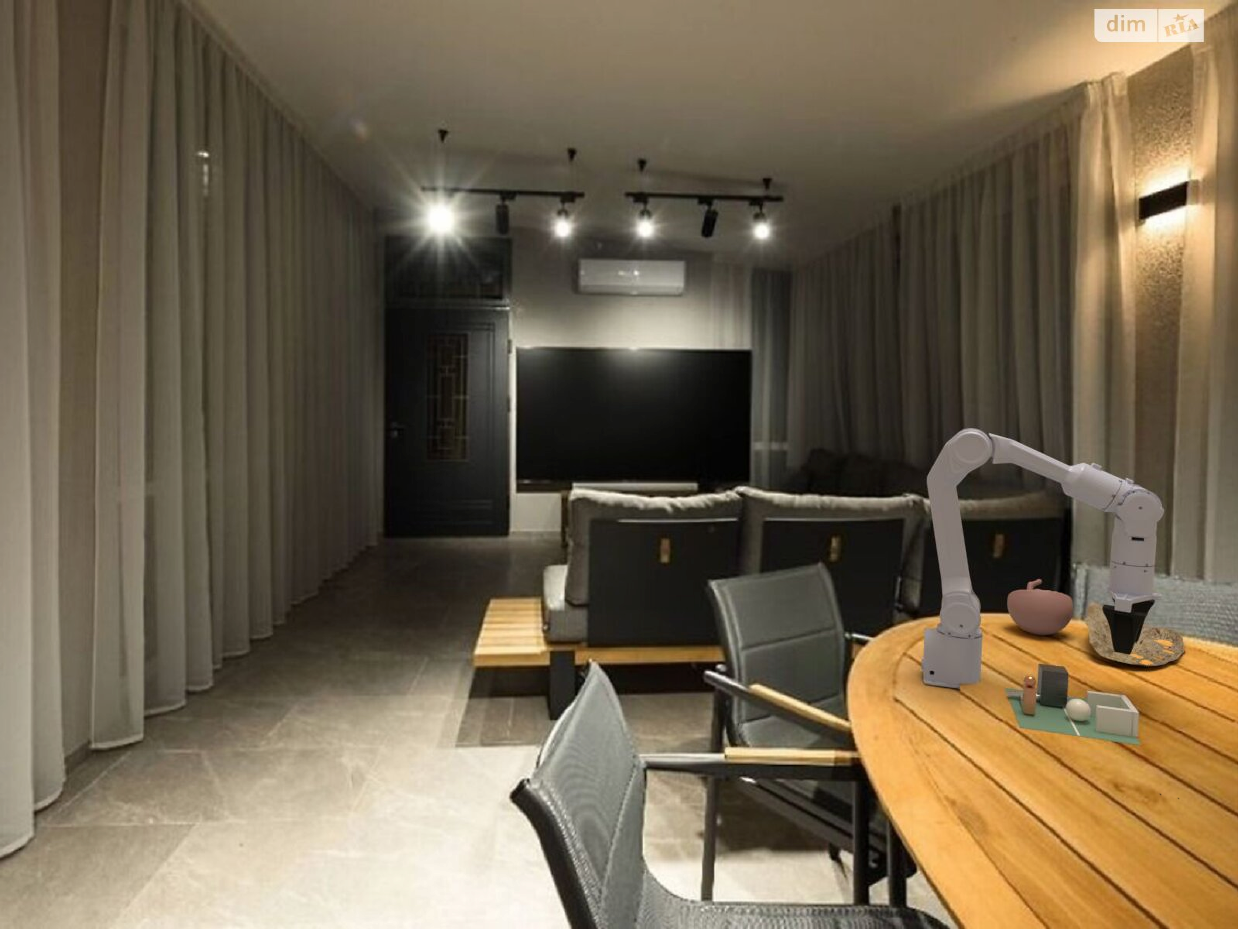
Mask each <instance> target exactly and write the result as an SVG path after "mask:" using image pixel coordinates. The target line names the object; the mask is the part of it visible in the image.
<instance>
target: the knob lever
mask: <svg viewBox="0 0 1238 929" xmlns="http://www.w3.org/2000/svg"><path fill="white" fill-rule="evenodd" d="M1037 666H1038V667H1037V679H1036V678H1035V677H1034V676H1033V675H1026V676H1025V677H1024V679H1023V683H1022V690H1023V692H1018V691H1010V690H1007V693H1006V696H1007V698H1008V697H1015V698H1019V700H1020V702H1021V705H1022V710H1023V712H1024V713H1025V714H1032V715H1035V709H1036V700H1037V701H1039V703H1040V704H1042V705H1049V706H1056V707H1064V708H1066V704H1067V703H1068V702H1069V701H1070V698H1067V696H1068V692H1069V690H1068V689H1069V676H1070V674H1069V671H1068V670H1067V669H1066V667H1065V666H1060V665H1054V664H1045V663H1044V664H1043V663H1038V665H1037ZM1036 692H1037V694H1036Z"/></svg>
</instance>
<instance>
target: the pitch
mask: <svg viewBox="0 0 1238 929" xmlns="http://www.w3.org/2000/svg"><path fill="white" fill-rule="evenodd" d="M1004 689H1005V693H1006V694H1007V690H1010V691H1018V692H1023V689H1016V688H1015V689H1014V688H1009V687H1005V688H1004ZM1036 694H1037V691H1036ZM1007 698H1008V701H1009V702H1010V705H1011V709H1012V710H1013V715H1014V716H1015V719H1016V722H1017V725H1018V728H1020V729H1026V730H1033V731H1039V732H1047V733H1055V734H1060V735H1066V736H1073V737H1074V736H1075V737H1080V738H1088V739H1094V740H1101V741H1106V742H1107V741H1108V742H1114V743H1115V742H1116V743H1119V744H1127V745H1128V744H1129V745H1136V746H1142V743H1141V742H1140V740H1138V737H1132V736H1125V735H1118V734H1111V733H1104V732H1097V731H1096V730H1095V721H1096V717H1094V716H1090V717H1089V718H1088V719H1087V720H1085V721H1076V720H1073V719H1072V718H1070V717H1069V716H1068V714H1067V712H1066V708H1064V707H1056V706H1049V705H1042V704H1040V703H1039V701H1037V700H1036V709H1035V715H1032V714H1025V713H1024V712H1023V710H1022V705H1021V702H1020V700H1019V698H1015V697H1007ZM1067 698H1070V700H1072V699H1081V700H1083V701H1085V702H1086V698H1085V697H1079V696H1071V695H1067Z"/></svg>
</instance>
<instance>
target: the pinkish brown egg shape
mask: <svg viewBox="0 0 1238 929" xmlns="http://www.w3.org/2000/svg"><path fill="white" fill-rule="evenodd" d="M1042 582H1043V581H1042V579H1040V578H1038V579H1036V580H1034V581H1029V582H1028V583H1027V586H1026V589H1017V590H1013V591H1012V592H1010V593H1008V596H1007V601H1006V602H1007V603H1006V604H1007V610H1008V614H1009V615H1010V617H1011V619H1012V621H1013V622H1014V623H1015V624H1016V625H1017V626H1018V627H1019V628H1021V630H1023V631H1025V632H1028V633H1030V634H1032V635H1033V634H1034V635H1037V636H1038V635H1039V636H1049V635H1053V634H1057V633H1059V632H1061V631H1062V630H1064V629H1065V628H1066V627H1067V626H1068V625H1069V623H1070V622H1071V620H1072V618H1073V614H1074V604H1073V599H1072V598H1071V596H1069V595H1068V594H1066V593H1065V594H1064V593H1063V592H1058V591H1052V590H1048V589H1047V590H1045V589H1040V588H1035V587H1036V586H1039V585H1041V584H1043V583H1042Z"/></svg>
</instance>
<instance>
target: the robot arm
mask: <svg viewBox="0 0 1238 929" xmlns="http://www.w3.org/2000/svg"><path fill="white" fill-rule="evenodd" d="M988 435H989V436H988ZM988 435H987V434H986V432H984V431H982V430H981V429H978V428H973V427H972V428H963V429H962V430H960V431H958V432H957V433H956V434H955V435H954V436H953V437H951V438H950V439H949V440H948V441H946V443H945V445H944V446H943V448H942V449H941V451H940V453H939V455H938V456H937V458H936V460H935V462H934V464H933V465H932V466H931V469H930V471H929V473H928V475H927V476H926V486H927V492H928V493H927V494H928V498H929V505H930V511H931V518H932V524H933V531H934V532H933V533H934V538H935V545H936V552H937V559H938V565H939V572H940V578H941V590H942V591H941V592H942V599H941V608H940V613H939V621H940V622H938V623H937V626H936V627H935V628H932V627H931V628H929V627H928V628H927V627H925V628H924V634H923V656H922V657H923V658H921V662H920V663H921V667H920V668H921V670H922V674H923V675H922V676H923V677H922V678H923V683H924V684H925V685H930V686H937V687H947V688H953V689H961V686H960V684H961V685H975V684H978V683H979V682H981V677H982V676H981V674H982V673H981V672H982V656H983V655H982V651H983V638H984V635H983V634H984V632H983V630H982V628H980V626H981V623H982V616H981V602H980V599H979V598H978V596H977V595H976V594H975V592H974V590H973V586H972V581H971V577H970V571H969V564H968V563H969V562H968V557H967V551H966V545H965V537H964V530H963V524H962V517H961V511H960V510H961V509H960V504H959V502H960V501H959V496H958V490H957V486H958V485H959V484H960V483H961V482H962V481H963V479H964V478H966V477H967V476H968V474H969V473H970V472H972V471H973V470H976V469H978V468H979V467H981V466H983V465H984V464H986V462H988V461H989V459H990V458H991V462H992V465H995V464H1013V465H1016V466H1019V467H1021V468H1024V469H1025V470H1027V471H1031V472H1034V473H1035V474H1038V475H1040V476H1043V477H1046V478H1047V479H1050V480H1053V481H1055V482H1057V483H1060V484H1061V488H1062V491H1063V493H1064V494H1065V495H1066V496H1068V497H1071V498H1073V499H1075V500H1077V501H1080V502H1081V503H1084V504H1086V505H1089V506H1091V507H1093V508H1095V509H1098V510H1100V511H1102V512H1104V513H1110V512H1111V513H1112V514H1113V515H1114V521H1113V524H1114V525H1113V531H1112V533H1111V547H1110V548H1111V549H1110V560H1109V561H1110V563H1109V574H1108V575H1109V576H1108V586H1106V593H1107V594H1108V595H1109V596H1110V597H1111V599H1112V602H1113V603H1114V605H1111V604H1103V605H1102V610H1103V613H1104V615H1105V617H1106V619H1107V621H1108V624H1109V627H1110V632H1111V638H1112V644H1113V649H1114V652H1118V653H1123V654H1128V655H1130V656H1131V655H1132V654H1131V652H1132V650H1133V647H1134V643H1137V642H1138V640H1139V637H1140V634H1141V631H1142V627H1144V623H1145V620H1146V618H1147V616H1148V615H1149V614H1148V613H1149V611H1150V610H1151V609H1152V607H1153V606H1154V605H1155V604H1156V600H1157V601H1161V600H1162V597H1163V594H1162V593H1160V592H1154V591H1153V590H1154V582H1155V581H1154V580H1155V578H1154V577H1155V564H1156V554H1157V542H1158V541H1157V540H1158V539H1157V528H1158V525H1157V524H1158V522H1159V521H1160V520H1161V519H1162V517H1163V516H1164V513H1165V509H1164V508H1163V504H1162V501H1161V499H1160V498H1159V497H1158V495H1157V494H1156V493H1154V492H1152V491H1150V490H1148V489H1147V488H1144V487H1142V486H1141V485H1140V484H1134V483H1135V481H1134V480H1133V479H1129V478H1128V477H1126V478H1125V479H1123V478H1120V477H1118V476H1116V475H1113V474H1112V473H1109V472H1107V471H1104V470H1102V465H1099V464H1097V463H1095V462H1092V463H1091V465H1090V464H1088V463H1086V462H1081V463H1077V464H1074V465H1068V464H1066V463H1064V462H1061V461H1060V460H1057V459H1055V458H1054V457H1051V456H1049V455H1046V454H1044V453H1042V452H1040V451H1038V450H1036V449H1033V448H1032V447H1029V446H1027V445H1025V444H1023V443H1020V442H1018V441H1016V440H1014V439H1012V438H1007V437H1004V436H1000V435H998V434H994V433H990V432H989V433H988ZM989 437H990V438H989Z"/></svg>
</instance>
